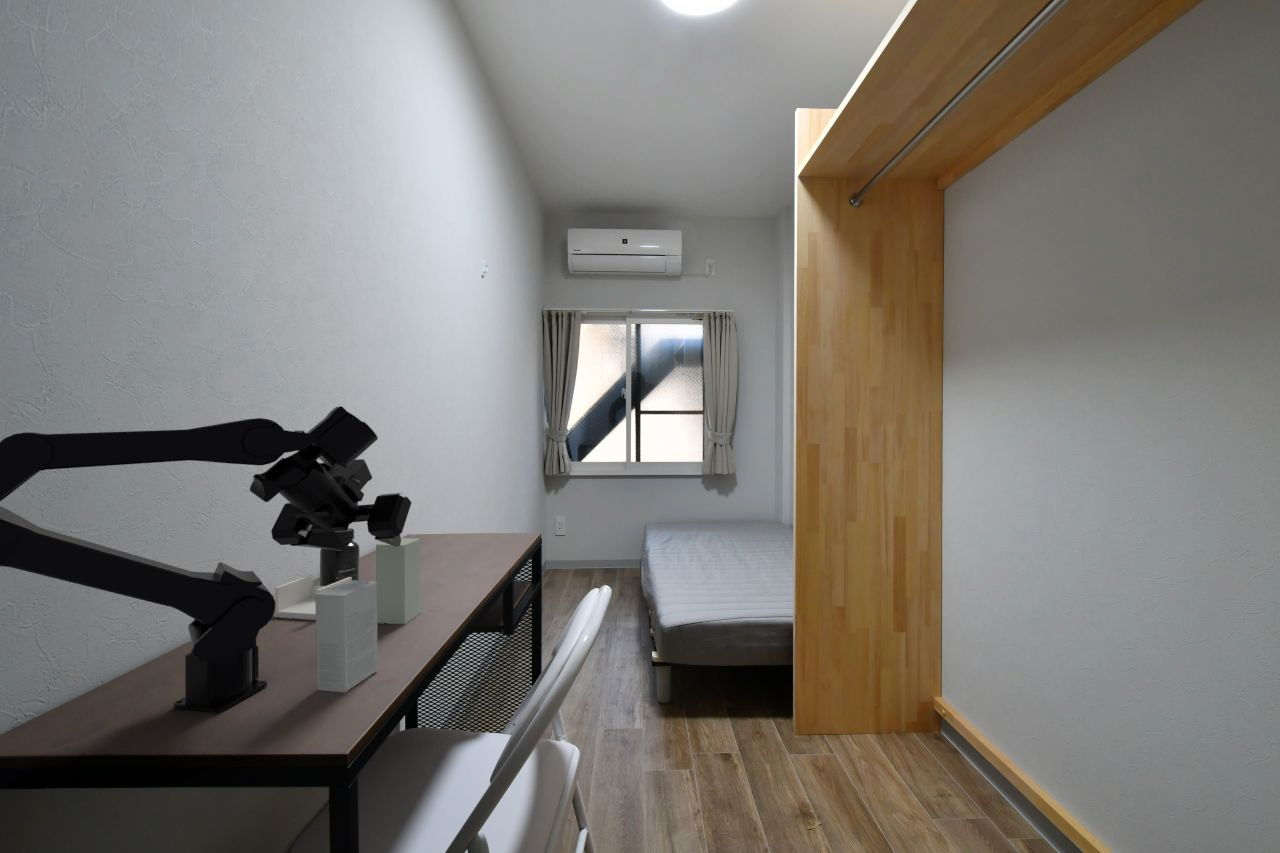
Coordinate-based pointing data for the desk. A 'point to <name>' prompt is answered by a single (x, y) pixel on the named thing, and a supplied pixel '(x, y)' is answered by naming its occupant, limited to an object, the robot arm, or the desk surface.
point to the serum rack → (299, 598)
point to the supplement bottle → (340, 560)
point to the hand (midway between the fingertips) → (371, 545)
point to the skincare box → (346, 635)
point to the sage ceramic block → (398, 581)
